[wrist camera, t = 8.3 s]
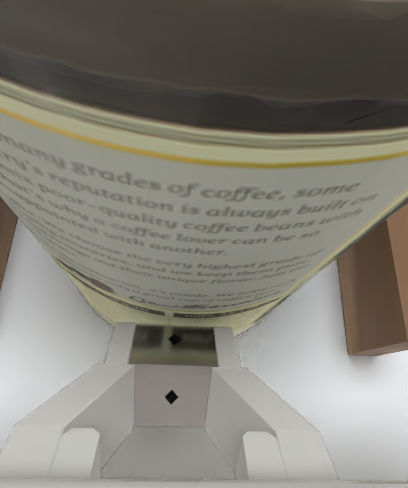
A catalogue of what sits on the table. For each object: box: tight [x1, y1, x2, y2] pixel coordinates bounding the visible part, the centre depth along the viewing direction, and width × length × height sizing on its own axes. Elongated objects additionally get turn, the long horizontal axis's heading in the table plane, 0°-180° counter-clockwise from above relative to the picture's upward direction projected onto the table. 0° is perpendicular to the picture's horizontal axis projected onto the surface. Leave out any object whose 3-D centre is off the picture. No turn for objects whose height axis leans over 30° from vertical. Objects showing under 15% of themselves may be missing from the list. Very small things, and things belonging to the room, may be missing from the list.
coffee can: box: [0, 0, 408, 337], centre depth 10 cm, size 10×10×14 cm
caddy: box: [0, 196, 408, 356], centre depth 15 cm, size 16×12×4 cm
